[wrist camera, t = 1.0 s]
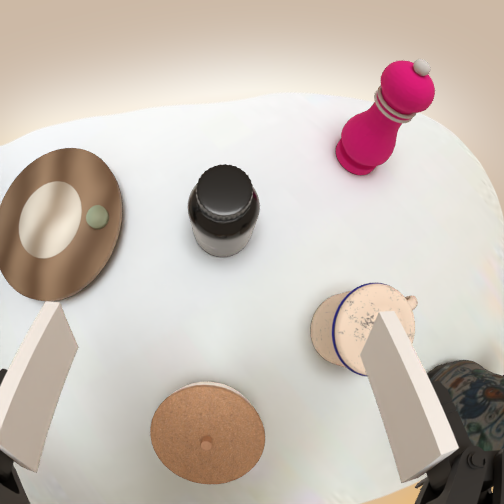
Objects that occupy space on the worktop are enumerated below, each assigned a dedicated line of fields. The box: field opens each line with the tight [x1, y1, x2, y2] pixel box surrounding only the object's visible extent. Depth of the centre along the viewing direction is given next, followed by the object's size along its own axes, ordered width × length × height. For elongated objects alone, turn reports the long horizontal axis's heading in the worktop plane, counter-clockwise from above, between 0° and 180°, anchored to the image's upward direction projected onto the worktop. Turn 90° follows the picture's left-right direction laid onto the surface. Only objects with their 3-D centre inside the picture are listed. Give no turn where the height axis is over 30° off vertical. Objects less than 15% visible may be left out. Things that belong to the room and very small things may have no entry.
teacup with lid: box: [311, 283, 418, 376], centre depth 30 cm, size 12×9×12 cm
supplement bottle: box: [188, 164, 260, 257], centre depth 31 cm, size 7×7×12 cm
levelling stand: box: [0, 148, 122, 301], centre depth 33 cm, size 20×20×4 cm
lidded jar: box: [150, 381, 265, 484], centre depth 27 cm, size 11×11×9 cm
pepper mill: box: [336, 59, 435, 175], centre depth 31 cm, size 7×7×20 cm
